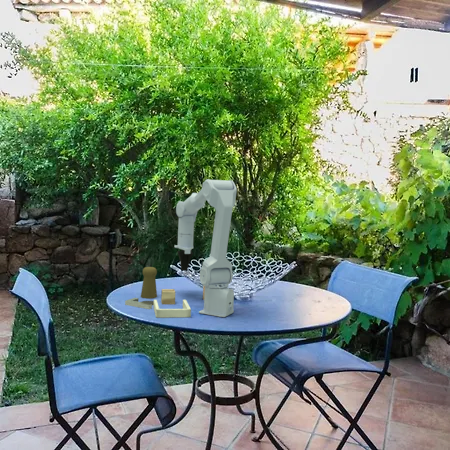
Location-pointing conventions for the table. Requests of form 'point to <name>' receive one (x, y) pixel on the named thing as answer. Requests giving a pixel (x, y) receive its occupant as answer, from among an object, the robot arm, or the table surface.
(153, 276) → the cork
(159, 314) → the u-shaped bracket
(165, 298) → the block
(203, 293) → the tan rounded-top cylinder
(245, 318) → the table surface
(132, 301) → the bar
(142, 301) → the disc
